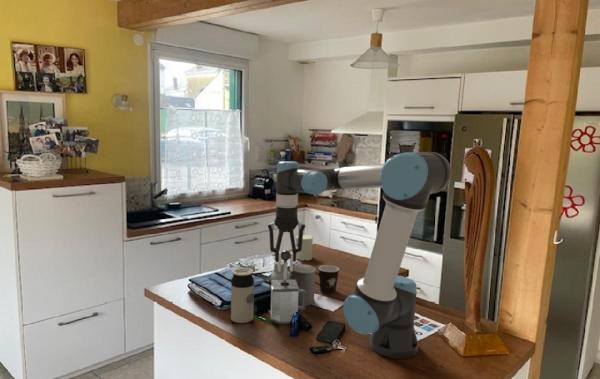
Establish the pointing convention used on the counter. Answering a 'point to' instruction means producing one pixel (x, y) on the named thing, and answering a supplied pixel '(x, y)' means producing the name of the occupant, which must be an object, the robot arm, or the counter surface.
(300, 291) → the carafe
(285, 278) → the plunger
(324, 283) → the coffee mug
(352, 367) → the counter surface
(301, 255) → the can
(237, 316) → the travel mug
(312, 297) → the grey cylinder
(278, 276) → the air freshener
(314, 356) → the counter surface
